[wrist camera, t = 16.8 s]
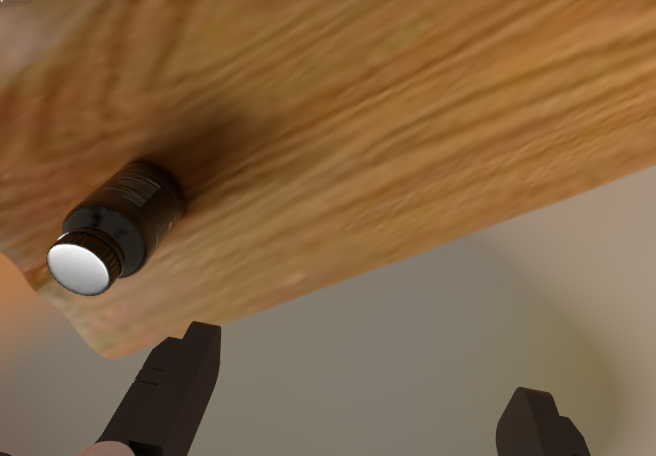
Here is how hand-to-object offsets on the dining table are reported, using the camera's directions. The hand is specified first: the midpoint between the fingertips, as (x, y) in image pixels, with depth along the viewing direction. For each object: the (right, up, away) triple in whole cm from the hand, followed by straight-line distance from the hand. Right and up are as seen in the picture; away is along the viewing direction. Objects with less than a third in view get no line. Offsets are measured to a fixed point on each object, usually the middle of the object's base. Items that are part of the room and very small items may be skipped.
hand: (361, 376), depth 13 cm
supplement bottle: (-17, +7, +31) cm, 36 cm away
